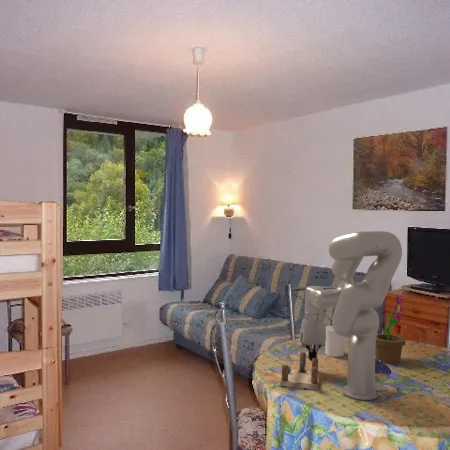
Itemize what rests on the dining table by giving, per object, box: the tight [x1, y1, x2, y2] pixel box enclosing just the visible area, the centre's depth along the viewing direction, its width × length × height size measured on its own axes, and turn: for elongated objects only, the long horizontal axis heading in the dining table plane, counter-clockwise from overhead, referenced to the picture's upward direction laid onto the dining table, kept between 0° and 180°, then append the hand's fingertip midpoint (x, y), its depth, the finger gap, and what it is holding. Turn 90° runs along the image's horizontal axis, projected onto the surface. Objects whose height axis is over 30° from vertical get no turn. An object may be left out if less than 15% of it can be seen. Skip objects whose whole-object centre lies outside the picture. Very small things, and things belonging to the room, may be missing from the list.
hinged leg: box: [299, 351, 307, 372], centre depth 191 cm, size 8×2×6 cm, turn 168°
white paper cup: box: [324, 325, 347, 358], centre depth 217 cm, size 10×10×12 cm
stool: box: [279, 357, 320, 391], centre depth 183 cm, size 14×14×8 cm
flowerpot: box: [375, 294, 406, 365], centre depth 209 cm, size 14×14×30 cm
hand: (312, 360), depth 195 cm, fingers closed
